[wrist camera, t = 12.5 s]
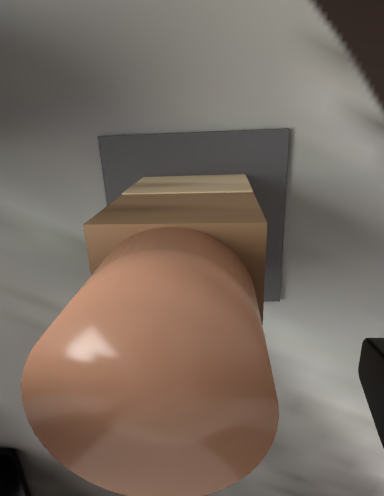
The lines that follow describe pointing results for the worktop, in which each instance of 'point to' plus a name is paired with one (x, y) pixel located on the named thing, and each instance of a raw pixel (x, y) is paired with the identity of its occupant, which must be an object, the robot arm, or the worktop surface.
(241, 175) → the maple cube
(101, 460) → the peach rounded piece
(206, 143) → the pad
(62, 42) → the worktop surface
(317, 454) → the worktop surface
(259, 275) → the walnut cube
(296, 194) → the worktop surface
